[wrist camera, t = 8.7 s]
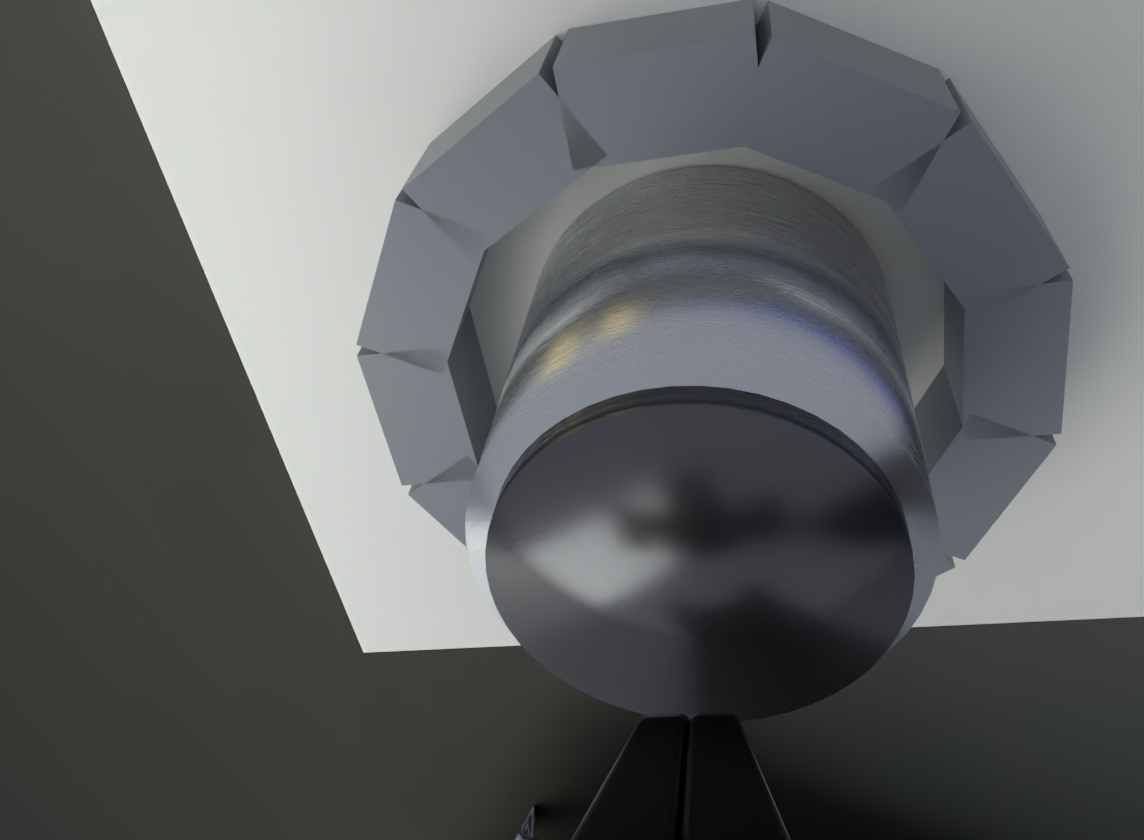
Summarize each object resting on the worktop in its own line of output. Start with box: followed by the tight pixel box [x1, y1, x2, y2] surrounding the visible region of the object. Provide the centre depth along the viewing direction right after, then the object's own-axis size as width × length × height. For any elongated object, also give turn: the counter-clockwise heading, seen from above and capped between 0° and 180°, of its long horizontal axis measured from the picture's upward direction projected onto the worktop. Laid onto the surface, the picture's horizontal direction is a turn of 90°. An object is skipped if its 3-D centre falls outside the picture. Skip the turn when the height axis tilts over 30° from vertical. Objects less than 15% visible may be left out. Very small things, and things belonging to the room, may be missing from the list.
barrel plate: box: [91, 0, 1144, 653], centre depth 15 cm, size 14×12×2 cm
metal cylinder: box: [465, 166, 941, 721], centre depth 13 cm, size 5×5×5 cm
